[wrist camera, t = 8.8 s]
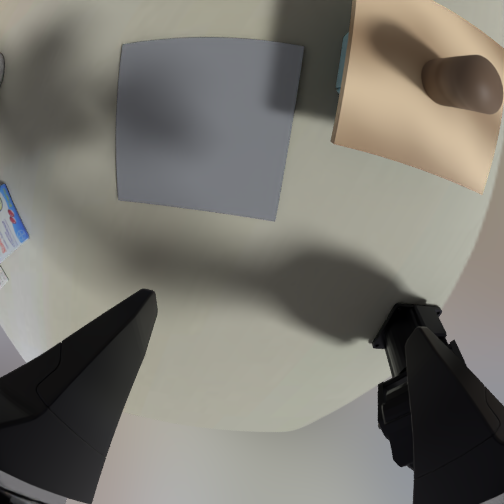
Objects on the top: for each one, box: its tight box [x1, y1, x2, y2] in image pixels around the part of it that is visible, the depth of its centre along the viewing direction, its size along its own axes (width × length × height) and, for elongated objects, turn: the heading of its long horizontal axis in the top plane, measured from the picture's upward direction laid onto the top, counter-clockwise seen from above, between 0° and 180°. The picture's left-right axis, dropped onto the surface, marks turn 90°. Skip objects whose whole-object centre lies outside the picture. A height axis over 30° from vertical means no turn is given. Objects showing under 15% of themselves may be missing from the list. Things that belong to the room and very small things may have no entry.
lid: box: [331, 0, 504, 195], centre depth 8 cm, size 11×11×5 cm
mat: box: [116, 37, 304, 221], centre depth 17 cm, size 13×13×1 cm
